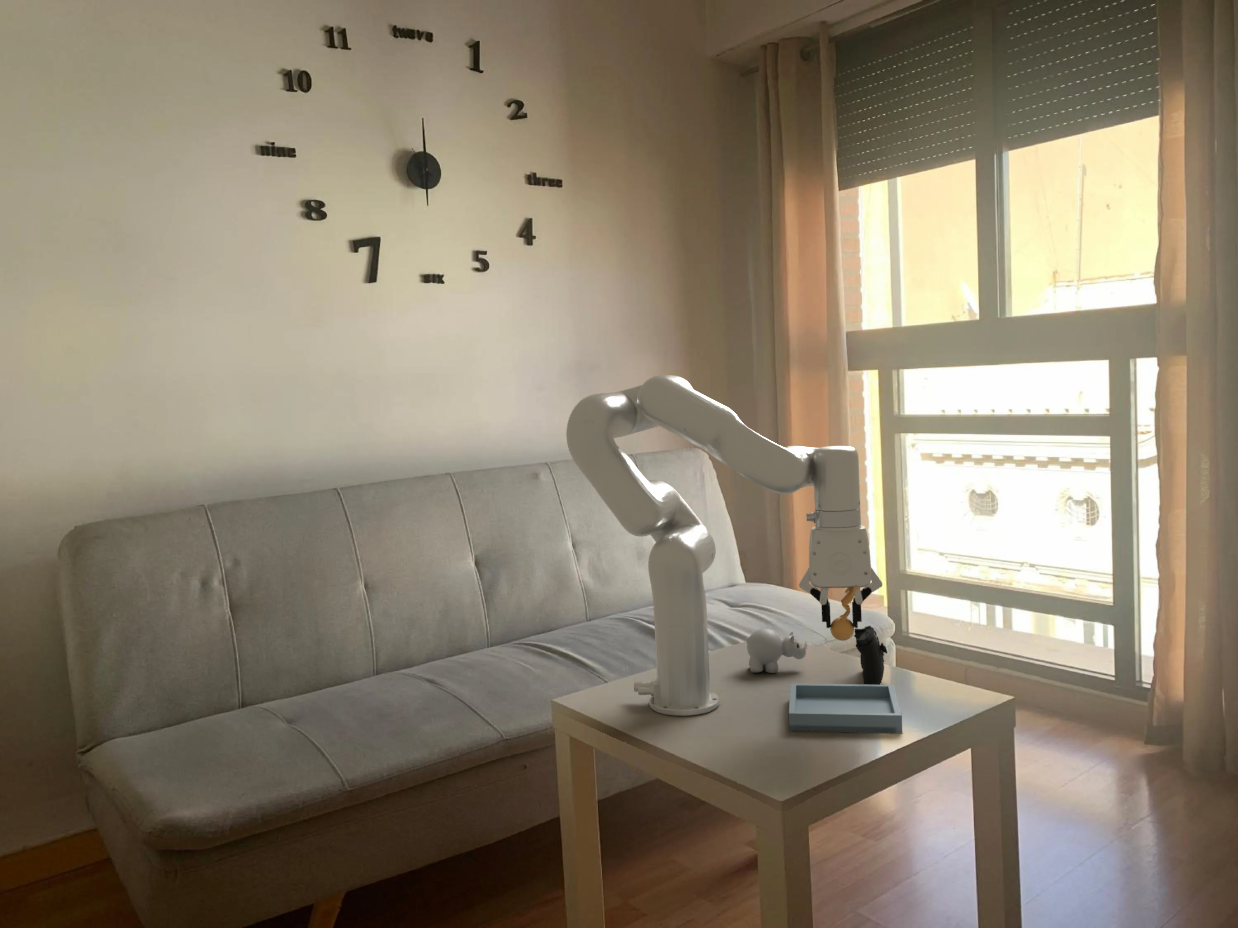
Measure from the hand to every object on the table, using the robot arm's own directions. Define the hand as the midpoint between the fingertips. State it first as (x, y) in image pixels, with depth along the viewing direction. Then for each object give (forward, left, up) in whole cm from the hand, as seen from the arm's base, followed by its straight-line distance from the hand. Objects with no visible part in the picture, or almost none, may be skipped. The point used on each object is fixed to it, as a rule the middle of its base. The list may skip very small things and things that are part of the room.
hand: (841, 624), depth 165 cm
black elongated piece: (+6, +20, -16) cm, 26 cm away
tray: (0, 0, -16) cm, 16 cm away
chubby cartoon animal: (-12, +26, -16) cm, 33 cm away
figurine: (+1, 0, -3) cm, 3 cm away
